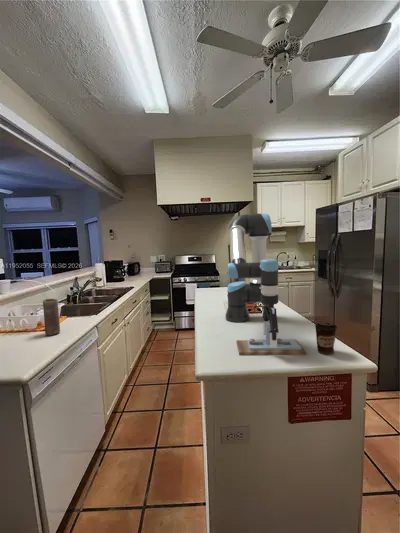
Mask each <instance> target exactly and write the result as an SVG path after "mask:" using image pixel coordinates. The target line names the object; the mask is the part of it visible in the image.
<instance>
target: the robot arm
mask: <svg viewBox="0 0 400 533" xmlns="http://www.w3.org/2000/svg"><path fill="white" fill-rule="evenodd" d="M272 228H273V227H272V220H271V216H270V215H269V214H268V213H261V212H260V213H250V214H249V213H248V214H245V213H243V214H240V215H238V216H236V217H235V218H234V219H233V220H231V223H230V224H229V226H228V235H229V237H230V261H231V262H229V263H227V277H228V279H237V280H238V279H249V283H247V282H246V281H240V280H239V281H234V282H230V283H229V284H228V285H227V291H226V292H227V310H226V312H225V315H224V316H225V320H226V321H228V322H231V323H244V322H247V321H250V320H251V319H250V317H251V316H250V313H249V310H248V307H247V306H248V305H247V303H249V304H251V303H254V304H255V303H261V304H263V310H262V316H261V317H262V320H263V335H264V336H266V325H270V329H271V331H269V333H270V347H277V338H278V333H279V325H278V324H279V323H278V316H277V308H276V307H275V305H277V304H278V303H279V262H278V259H274V258H267V239H268V237H269V236H270V234H272ZM245 235H248V238H249V239H250V240H251V262H247V256H246V244H245Z"/></svg>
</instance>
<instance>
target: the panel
mask: <svg viewBox="0 0 400 533" xmlns="http://www.w3.org/2000/svg"><path fill="white" fill-rule="evenodd" d="M269 331H271V329H270V325H266V335H265V339H255V343H253V345H251V343H250V342H249V339H246V340H247V343H248V346H249V349H250V350H301V346H302V345H301V344H300V343H299V342H298V341H297V342H298V343H299V344H300V345H301V346H300V345H299V344H298V343H297V342H296V341H295V340H296V339H295V338H283V339H282V338H281V339H282V343H280V344H278V343H277V347H270V333H269ZM255 344H263V345H255ZM283 344H290V345H283Z"/></svg>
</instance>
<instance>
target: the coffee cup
mask: <svg viewBox="0 0 400 533" xmlns="http://www.w3.org/2000/svg"><path fill="white" fill-rule="evenodd" d="M314 327H315V335H316V336H315V338H316V348H317V352H318V353H320V354H322V355H326V356H330V355H334V354H335V351H334V350H335V349H334V346H335V342H336V331H337V330H338V329H337V328H338V326H337V325H336V322H334V321H331V320H319V321H317V322H316V323H315V325H314Z"/></svg>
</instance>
